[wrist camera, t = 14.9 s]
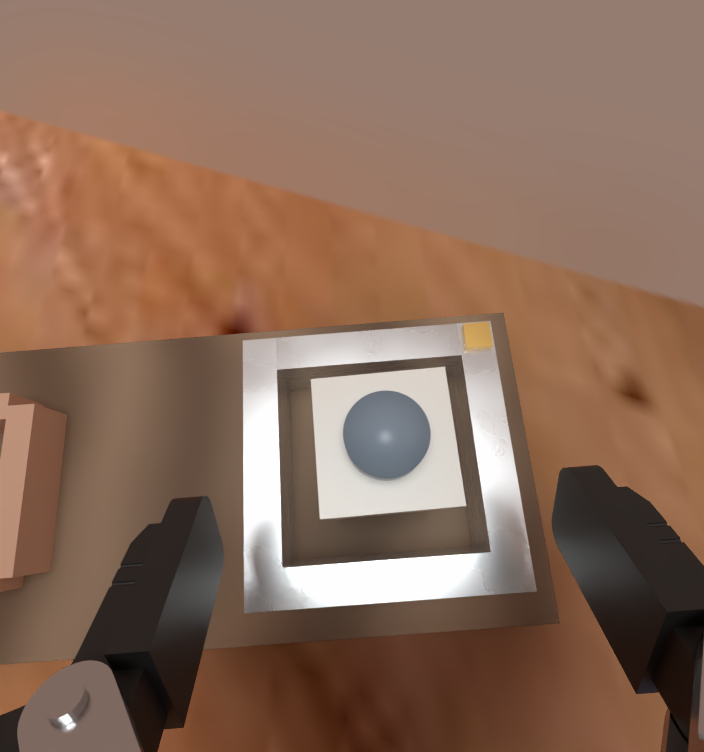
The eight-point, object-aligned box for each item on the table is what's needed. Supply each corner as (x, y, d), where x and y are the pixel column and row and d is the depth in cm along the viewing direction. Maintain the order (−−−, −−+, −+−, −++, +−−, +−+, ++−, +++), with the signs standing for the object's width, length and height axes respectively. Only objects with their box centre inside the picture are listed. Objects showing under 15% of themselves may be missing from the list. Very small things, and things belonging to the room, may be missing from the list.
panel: (-176, 668, 18) (-222, 681, 17) (-110, 374, 22) (-144, 364, 20) (544, 615, 18) (559, 623, 17) (494, 326, 22) (503, 312, 20)
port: (264, 597, 17) (241, 615, 14) (260, 366, 20) (240, 337, 17) (508, 579, 17) (540, 592, 14) (472, 349, 20) (492, 317, 17)
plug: (337, 519, 18) (315, 519, 10) (330, 428, 19) (306, 367, 11) (429, 510, 18) (475, 504, 10) (417, 420, 19) (451, 353, 11)
